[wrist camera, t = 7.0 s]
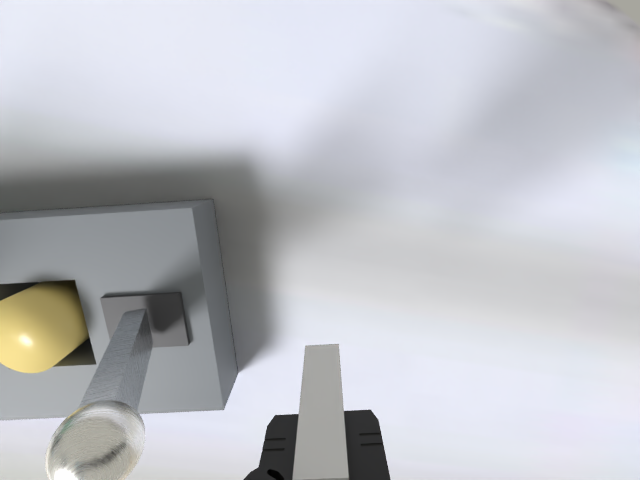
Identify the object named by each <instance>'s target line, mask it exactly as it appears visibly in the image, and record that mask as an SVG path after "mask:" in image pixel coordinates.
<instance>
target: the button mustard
mask: <svg viewBox="0 0 640 480" xmlns="http://www.w3.org/2000/svg"><path fill="white" fill-rule="evenodd" d="M88 338H90V337H89V333H88V329H87V325H86V321H85V317H84V313H83V309H82V305H81V301H80V298H79V294H78V290H77V286H76V282H75V280H61V281H44V282H40V283H38V284H36V285H34V286H32V287H29V288H27V289H25V290H23V291H21V292H19V293H16V294H14V295H12V296H10V297H8V298H5V299H3V300H1V301H0V363H1V364H3V365H5V366H6V367H8V368H10V369H12V370H15V371H19V372H23V373H39V372H43V371H46V370H48V369H50V368H52V367H53V366H54V365H55V364H57V363H58V362H59V361H60V360H62V359H63V358H64V357H66V356H67V355H68V354H69V353H71V352H72V351H73V350H74V349H76V348H77V347H78V346H79V345H81V344H82V343H83V342H85V341H86V340H87V339H88Z"/></svg>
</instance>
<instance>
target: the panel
mask: <svg viewBox="0 0 640 480" xmlns="http://www.w3.org/2000/svg"><path fill="white" fill-rule="evenodd" d="M61 280H75V282H76V286H77V290H78V294H79V298H80V301H81V305H82V309H83V313H84V317H85V321H86V325H87V329H88V333H89V337H90V338H88V339H87V340H86V341H85V342H83V343H82V344H81V345H79V346H78V347H77V348H76V349H74V350H73V351H72V352H71V353H69V354H68V355H67V356H66V357H64V358H63V359H62V360H60V361H59V362H58V363H57V364H55V365H54V366H53V367H52V368H50V369H48V370H46V371H43V372H39V373H23V372H19V371H15V370H12V369H10V368H8V367H6V366H5V365H3V364H1V363H0V420H19V419H40V418H62V417H68V416H69V415H71V414H72V413H73V412H75V411H76V410H77V409H78V407H79V405H80V403H81V401H82V399H83V397H84V395H85V393H86V390H87V388H88V386H89V384H90V382H91V380H92V378H93V376H94V374H95V372H96V370H97V368H98V365H99V363H100V361H101V359H102V357H103V355H104V353H105V351H106V349H107V347H108V345H109V343H110V340H111V338H112V336H113V334H114V332H115V330H116V328H117V326H118V324H119V322H120V320H121V317H122V315H123V313H124V312H126V311H132V310H137V309H143V308H146V309H147V314H148V319H149V324H150V329H151V334H152V339H153V347H152V351H151V355H150V360H149V364H148V368H147V372H146V377H145V381H144V385H143V389H142V393H141V398H140V402H139V406H138V410H137V412H138V413H139V414H147V413H168V412H189V411H211V410H224V408H225V406H226V403H227V400H228V398H229V395H230V393H231V390H232V388H233V385H234V383H235V380H236V377H237V375H238V370H237V363H236V356H235V349H234V342H233V335H232V328H231V321H230V314H229V307H228V300H227V293H226V286H225V279H224V272H223V265H222V258H221V251H220V244H219V237H218V229H217V222H216V215H215V208H214V201H213V199H205V200H189V201H174V202H159V203H143V204H128V205H112V206H97V207H81V208H66V209H50V210H35V211H19V212H4V213H0V301H1V300H3V299H5V298H8V297H10V296H12V295H14V294H16V293H19V292H21V291H23V290H25V289H27V288H29V287H32V286H34V285H36V284H38V282H44V281H61Z"/></svg>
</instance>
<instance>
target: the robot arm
mask: <svg viewBox="0 0 640 480" xmlns="http://www.w3.org/2000/svg"><path fill="white" fill-rule="evenodd" d="M244 480H390V475H389V470H388V465H387V460H386V455H385V450H384V445H383V441H382V436H381V431H380V426H379V421H378V419H377V418H376V416H375V415H374V414H373V412H372V411H371V410H356V411H344V408H343V395H342V382H341V368H340V355H339V344H328V345H309V346H305V355H304V365H303V376H302V386H301V396H300V407H299V414H292V415H275V416H274V418H273V419H272V420H271V422H270V423H269V425H268V426H267V430H266V435H265V441H264V445H263V451H262V454H261V459H260V464H259V467H258V468H257V469H255V470H253V471H251V472H250V473H249V474H248V475H247V476H246V478H245V479H244Z"/></svg>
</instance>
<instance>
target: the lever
mask: <svg viewBox="0 0 640 480" xmlns="http://www.w3.org/2000/svg"><path fill="white" fill-rule="evenodd" d="M152 347H153V339H152V334H151V329H150V324H149V319H148V314H147V309H146V308H143V309H137V310H132V311H126V312H124V313H123V315H122V317H121V320H120V322H119V324H118V326H117V328H116V330H115V332H114V334H113V336H112V338H111V340H110V343H109V345H108V347H107V349H106V351H105V353H104V355H103V357H102V359H101V361H100V363H99V365H98V368H97V370H96V372H95V374H94V376H93V378H92V380H91V382H90V384H89V386H88V388H87V390H86V393H85V395H84V397H83V399H82V401H81V403H80V405H79V407H78V409H77V410H76V411H75V412H73V413H72V414H71V415H69V416H68V417H67V418H66V419H65V420H64V421H63V422H62V423H61V424H60V426H59V427H58V428H57V430H56V431H55V433H54V434H53V436H52V438H51V440H50V442H49V445H48V448H47V451H46V457H45V468H46V473H47V476H48V479H49V480H124V479H125V478H126V477H127V476H128V475H129V474H130V473H131V472H132V470H133V469H134V467H135V466H136V464H137V463H138V461H139V459H140V457H141V454H142V452H143V448H144V444H145V427H144V423H143V420H142V418H141V416H140V415H139V413H138V412H137V410H138V406H139V402H140V398H141V393H142V389H143V385H144V381H145V377H146V372H147V368H148V364H149V360H150V355H151V351H152Z"/></svg>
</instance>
